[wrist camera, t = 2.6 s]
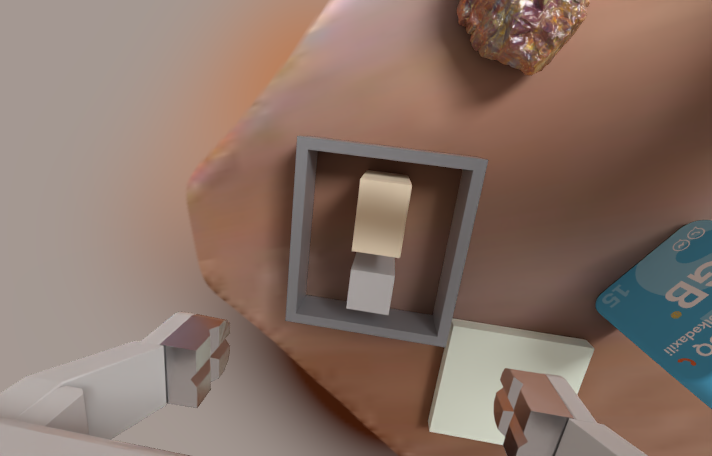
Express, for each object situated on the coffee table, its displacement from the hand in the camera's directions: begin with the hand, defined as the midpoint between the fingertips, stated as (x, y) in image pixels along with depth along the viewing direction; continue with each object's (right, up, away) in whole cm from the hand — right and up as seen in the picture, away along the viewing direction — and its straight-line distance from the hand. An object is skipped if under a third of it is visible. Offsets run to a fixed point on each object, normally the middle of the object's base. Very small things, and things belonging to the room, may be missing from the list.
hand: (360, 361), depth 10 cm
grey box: (+2, -1, +25) cm, 25 cm away
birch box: (+3, +6, +23) cm, 24 cm away
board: (+16, -13, +27) cm, 34 cm away
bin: (+2, +3, +24) cm, 24 cm away
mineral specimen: (+12, +23, +18) cm, 31 cm away
